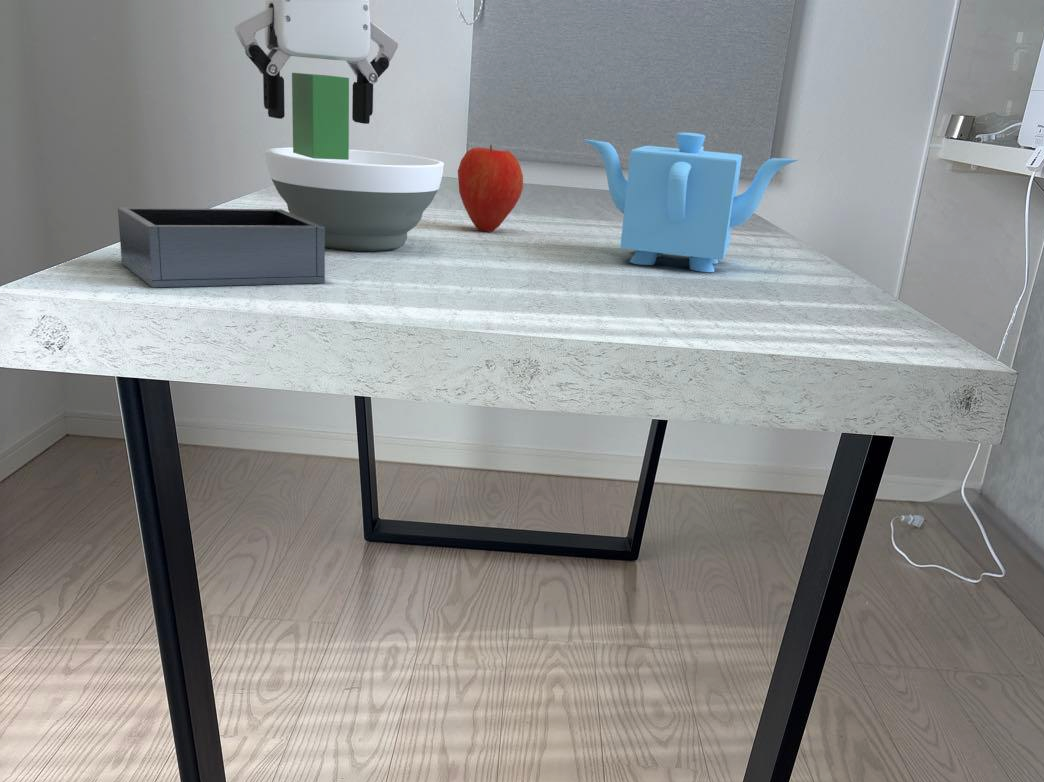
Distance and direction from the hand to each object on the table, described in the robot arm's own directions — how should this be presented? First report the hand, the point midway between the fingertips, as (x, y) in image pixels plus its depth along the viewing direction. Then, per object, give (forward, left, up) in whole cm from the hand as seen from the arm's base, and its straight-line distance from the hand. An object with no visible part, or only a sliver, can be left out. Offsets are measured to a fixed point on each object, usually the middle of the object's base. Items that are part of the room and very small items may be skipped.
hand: (319, 120), depth 112 cm
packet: (0, 0, -4) cm, 4 cm away
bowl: (+5, +2, -13) cm, 14 cm away
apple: (+28, +12, -13) cm, 33 cm away
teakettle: (+41, -12, -13) cm, 45 cm away
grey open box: (-15, -14, -13) cm, 24 cm away
